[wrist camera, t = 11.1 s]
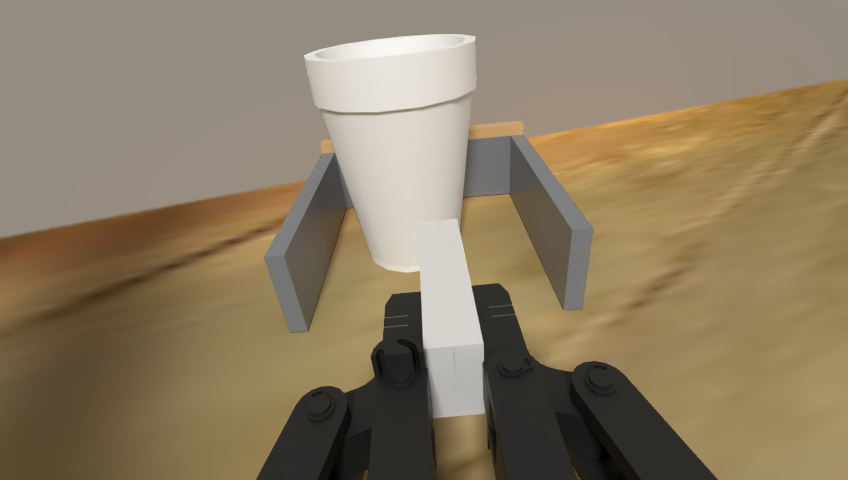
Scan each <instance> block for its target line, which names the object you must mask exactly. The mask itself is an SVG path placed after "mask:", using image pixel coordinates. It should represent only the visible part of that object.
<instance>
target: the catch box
mask: <svg viewBox="0 0 848 480" xmlns="http://www.w3.org/2000/svg"><path fill="white" fill-rule="evenodd" d="M523 129H524V124H523V123H522V121H513V122H503V123H493V124H482V125H473V126H469V134H468V145H467V156H466V168H465V179H464V190H463V198H464V197H475V196H486V195H497V194H508V193H510V195H511V197H512V200H513V202H514V204H515V206H516V208H517V210H518V212H519V215H520V217H521V219H522V221H523V223H524V225H525V228H526V230H527V232H528V234H529V236H530V238H531V241H532V243H533V245H534V247H535V249H536V251H537V254H538V256H539V258H540V260H541V262H542V264H543V267H544V269H545V271H546V273H547V275H548V277H549V280H550V282H551V284H552V286H553V288H554V290H555V293H556V295H557V297H558V299H559V301H560V303H561V306H562V308H563V310H573V309H582V307H583V300H584V293H585V286H586V278H587V271H588V264H589V256H590V249H591V242H592V235H593V227H592V226H591V225H590V223H589V222H588V221H587V219H586V218H585V217H584V215H583V214H582V213H581V211H580V210H579V209H578V207H577V206H576V205H575V203H574V202H573V200H572V199H571V198H570V196H569V195H568V194H567V192H566V191H565V190H564V188H563V187H562V186H561V184H560V183H559V182H558V180H557V179H556V178H555V176H554V175H553V174H552V172H551V171H550V170H549V168H548V167H547V165H546V164H545V163H544V161H543V160H542V159H541V157H540V156H539V155H538V153H537V152H536V151H535V149H534V148H533V147H532V145H531V144H530V143H529V141H528V140H527V139H526V137H525V136H524V135H523V131H524V130H523ZM320 146H321V150H322V155H321V157H320V159H319V160H318V162H317V164H316V166H315V167H314V169H313V171H312V173H311V174H310V176H309V178H308V180H307V182H306V183H305V185H304V187H303V189H302V190H301V192H300V194H299V196H298V198H297V199H296V201H295V203H294V205H293V206H292V208H291V210H290V212H289V214H288V215H287V217H286V219H285V221H284V222H283V224H282V226H281V228H280V230H279V231H278V233H277V235H276V237H275V238H274V240H273V242H272V244H271V246H270V247H269V249H268V251H267V253H266V254H265V256H264V259H265V262H266V265H267V268H268V271H269V274H270V277H271V279H272V282H273V285H274V288H275V291H276V294H277V297H278V299H279V302H280V305H281V308H282V311H283V314H284V317H285V319H286V322H287V325H288V328H289V331H290V333H292V332H304V331H308V329H309V326H310V323H311V320H312V317H313V313H314V310H315V307H316V304H317V301H318V297H319V294H320V291H321V288H322V285H323V281H324V278H325V275H326V272H327V269H328V265H329V262H330V259H331V256H332V253H333V249H334V246H335V243H336V240H337V237H338V233H339V230H340V227H341V224H342V221H343V217H344V214H345V211H346V208H354V206H353V203H352V200H351V197H350V194H349V191H348V189H347V186H346V183H345V180H344V177H343V174H342V171H341V168H340V166H339V163H338V160H337V157H336V154H335V151H334V148H333V145H332V143H331V140H330V139H326V140H322V141H321V143H320Z"/></svg>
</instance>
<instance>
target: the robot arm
mask: <svg viewBox="0 0 848 480" xmlns="http://www.w3.org/2000/svg"><path fill="white" fill-rule="evenodd" d="M418 233H419V256H420V280H421V292H411V293H400V294H392V296H391V297H390V299H389V300H388V302H387V303H386V305H385V319H384V332H383V341H381V342H379V344H378V345H377V346H376V347H375V348H374V349H373V352H372V355H371V360H372V365H373V369H374V374H375V377H374V378H373V379H372V380H371V381H370V382H368V383H367V384H366V385H364V386H361V387H359V388H357V389H354V390H352V391H349V392H346V393H343V392H342V391H341V390H340V389H339V388H335V387H332V386H325V387H319V388H316V389H314V390H311V391H310V392H308V393H307V394H306V395H304V396H303V397H302V398H301V399H300V401H299V402H298V403H297V404H296V406H295V408H294V410H293V412H292V414H291V415H290V417H289V419H288V421H287V423H286V425H285V427H284V428H283V430H282V432H281V434H280V436H279V438H278V440H277V442H276V443H275V445H274V447H273V449H272V451H271V453H270V455H269V456H268V458H267V460H266V462H265V464H264V466H263V468H262V469H261V471H260V473H259V475H258V477H257V479H256V480H362V478H363V475H364V471H366V470H368V469H369V470H368V480H437V465H436V449H435V435H434V427H433V418H441V417H452V416H464V415H475V414H485V410H486V415H487V426H488V449H491V454H492V460H493V466H494V471H495V477H496V480H577V478H576V475H575V472H574V469H573V467H574V468H575V470H576V472H577V473H578V475H579V477H580V478H581V480H718V479H717V478H716V477H715V476H714V475H713V474H712V473H711V472H710V470H709V469H708V468H707V467H706V466H705V465H704V464H703V463H702V461H701V460H700V459H699V458H698V457H697V456H696V455H695V454H694V452H693V451H692V450H691V449H690V448H689V447H688V446H687V445H686V443H685V442H684V441H683V440H682V439H681V438H680V437H679V436H678V434H677V433H676V432H675V431H674V430H673V429H672V428H671V427H670V426H669V424H668V423H667V422H666V421H665V420H664V419H663V418H662V417H661V415H660V414H659V413H658V412H657V411H656V410H655V409H654V408H653V406H652V405H651V404H650V403H649V402H648V401H647V400H646V399H645V397H644V396H643V395H642V394H641V393H640V392H639V391H638V390H637V388H636V387H635V386H634V385H633V384H632V383H631V382H630V381H629V379H628V378H627V377H626V376H625V375H624V374H623V373H622V372H620V371H619V370H618V369H617V368H615V367H613V366H611V365H609V364H606V363H602V362H596V361H592V362H584V363H582V364H580V365H578V366H577V367H576V368H575V369H574V371H573V372H568V371H563V370H557V369H553V368H549V367H546V366H544V365H542V364H540V363H539V362H537V361H536V360H535V359H534V358H533V357H532V356H531V355H530V354H529V352H528V350H527V347H526V344H525V341H524V338H523V335H522V332H521V329H520V326H519V323H518V320H517V317H516V315H515V311H514V308H513V306H512V302H511V299H510V296H509V293H508V292H507V291H506V290H505V289H504V288H503V287H502V286H501V285H500V284H499V283H497V284H486V285H475V286H471V282H470V277H469V273H468V268H467V263H466V258H465V254H464V249H463V244H462V240H461V235H460V230H459V226H458V221H457V219H447V220H437V221H426V222H418ZM572 465H573V466H572Z"/></svg>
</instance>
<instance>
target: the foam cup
mask: <svg viewBox="0 0 848 480" xmlns="http://www.w3.org/2000/svg"><path fill="white" fill-rule="evenodd" d="M303 57H304V61H305V66H306V71H307V75H308V80H309V84H310V89H311V93H312V97H313V101H314V103H315V105H316V107H317V108H320V111H321V114H322V117H323V119H324V122H325V125H326V128H327V131H328V134H329V137H330V140H331V143H332V145H333V148H334V151H335V154H336V157H337V160H338V163H339V166H340V168H341V171H342V174H343V177H344V180H345V183H346V186H347V189H348V191H349V194H350V197H351V200H352V203H353V206H354V209H355V211H356V214H357V217H358V220H359V223H360V226H361V229H362V232H363V234H364V237H365V240H366V243H367V246H368V248H369V250H370V254H371V256H372V258H373V261H374V263H376V264H378V265H380V266H381V267H383V268H385V269H387V270H391V271H398V272H405V273H409V272H417V271H420V256H419V233H418V222H426V221H437V220H447V219H457V221H458V226H459V230H460V223H461V212H462V201H463V190H464V179H465V168H466V156H467V145H468V134H469V123H470V112H471V101H472V91H473V90H475V89H476V81H477V80H476V79H477V76H476V38H475V36H469V35H462V34H434V35H419V36H404V37H395V38H386V39H377V40H369V41H363V42H356V43H350V44H344V45H338V46H334V47H330V48H325V49H320V50H316V51H314V52H311V53H309V54H306V55H304V56H303Z"/></svg>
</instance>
